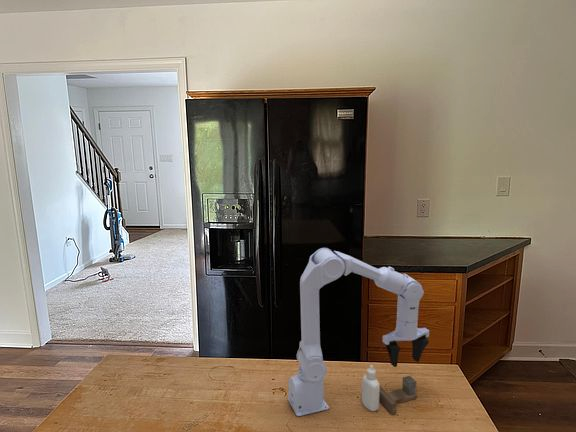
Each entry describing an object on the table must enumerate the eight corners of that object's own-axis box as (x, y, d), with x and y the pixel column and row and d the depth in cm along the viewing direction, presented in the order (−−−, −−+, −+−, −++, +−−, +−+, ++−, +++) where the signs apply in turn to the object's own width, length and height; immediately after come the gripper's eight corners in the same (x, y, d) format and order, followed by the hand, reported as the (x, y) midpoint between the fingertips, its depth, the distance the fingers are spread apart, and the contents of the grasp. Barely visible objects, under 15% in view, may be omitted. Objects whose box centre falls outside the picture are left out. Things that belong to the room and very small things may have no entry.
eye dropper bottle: (376, 399, 110) (378, 360, 108) (379, 412, 105) (381, 372, 103) (361, 398, 111) (362, 359, 109) (363, 411, 105) (364, 371, 103)
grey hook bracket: (391, 414, 104) (392, 397, 103) (370, 390, 114) (370, 375, 113) (424, 405, 107) (425, 389, 106) (400, 383, 117) (401, 368, 116)
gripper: (419, 309, 116) (416, 351, 118) (377, 316, 111) (375, 360, 113) (435, 319, 109) (432, 363, 111) (391, 326, 104) (389, 372, 107)
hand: (404, 362), depth 112 cm, fingers open, 7 cm apart
